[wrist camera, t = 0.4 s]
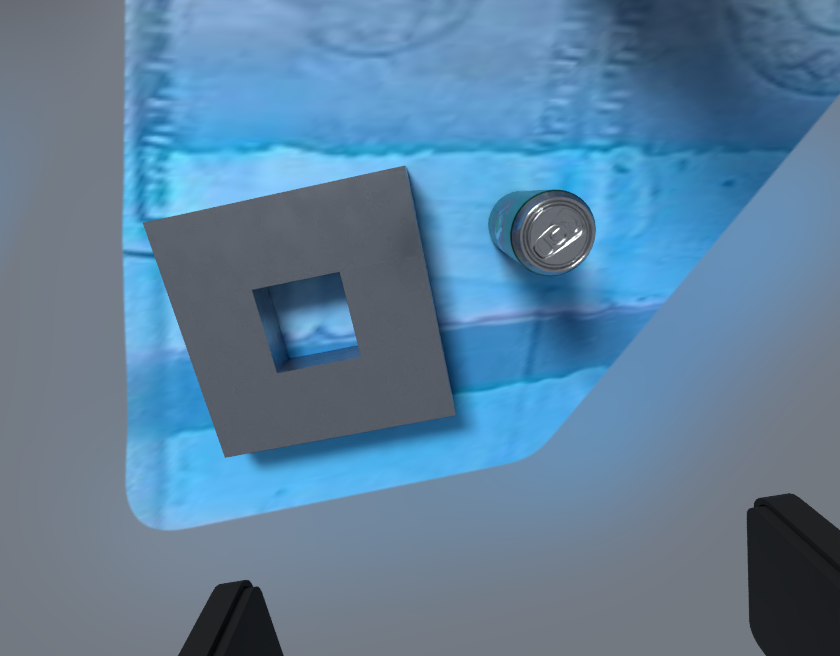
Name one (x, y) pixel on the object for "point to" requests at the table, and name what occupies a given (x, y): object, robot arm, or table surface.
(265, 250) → the bore block
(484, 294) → the table surface
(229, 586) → the robot arm
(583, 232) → the soda can
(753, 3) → the table surface
